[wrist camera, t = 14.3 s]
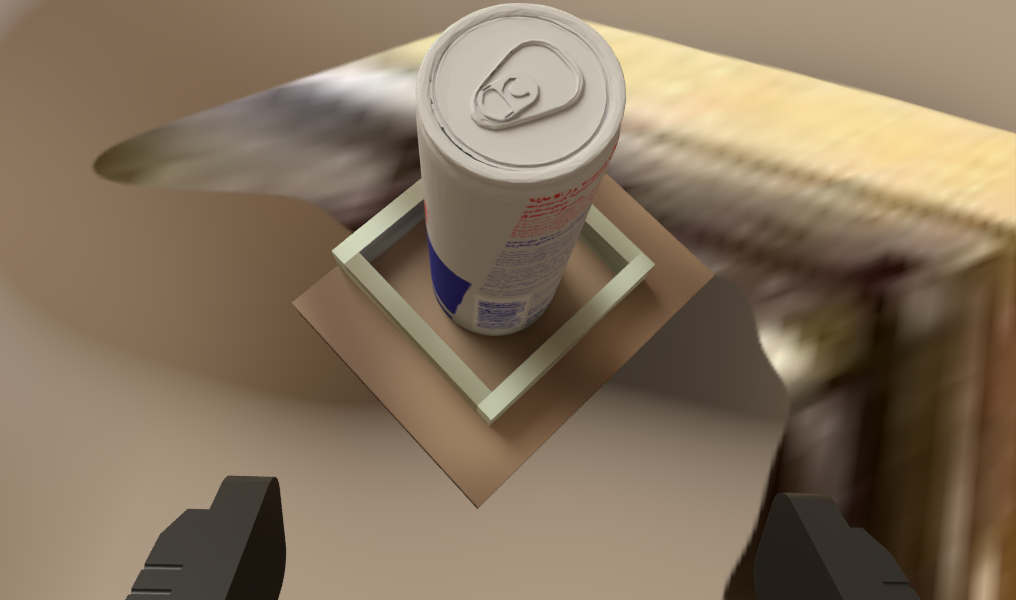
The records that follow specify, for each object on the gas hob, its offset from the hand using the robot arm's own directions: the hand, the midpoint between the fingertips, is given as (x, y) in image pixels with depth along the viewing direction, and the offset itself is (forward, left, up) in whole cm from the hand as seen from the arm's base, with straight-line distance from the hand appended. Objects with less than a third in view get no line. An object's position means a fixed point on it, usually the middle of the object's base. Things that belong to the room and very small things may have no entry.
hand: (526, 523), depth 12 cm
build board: (-8, -7, -20) cm, 23 cm away
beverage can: (-8, -7, -19) cm, 22 cm away
